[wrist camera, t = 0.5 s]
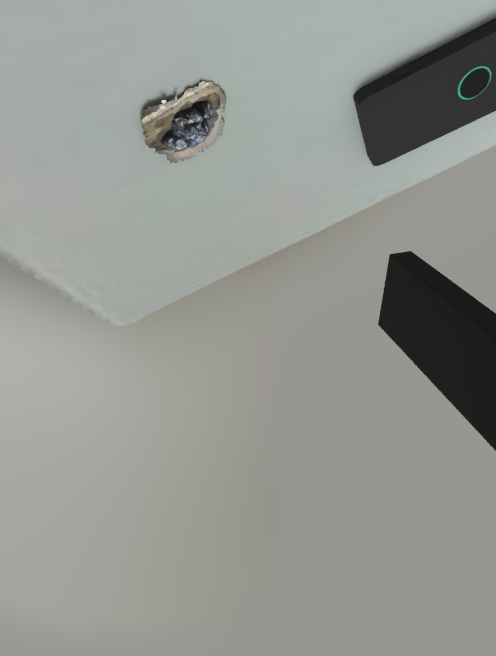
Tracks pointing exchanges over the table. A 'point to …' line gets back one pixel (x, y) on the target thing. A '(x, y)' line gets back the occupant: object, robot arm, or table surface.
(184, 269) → the table surface
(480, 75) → the smart home device
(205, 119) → the geode half
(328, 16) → the table surface
